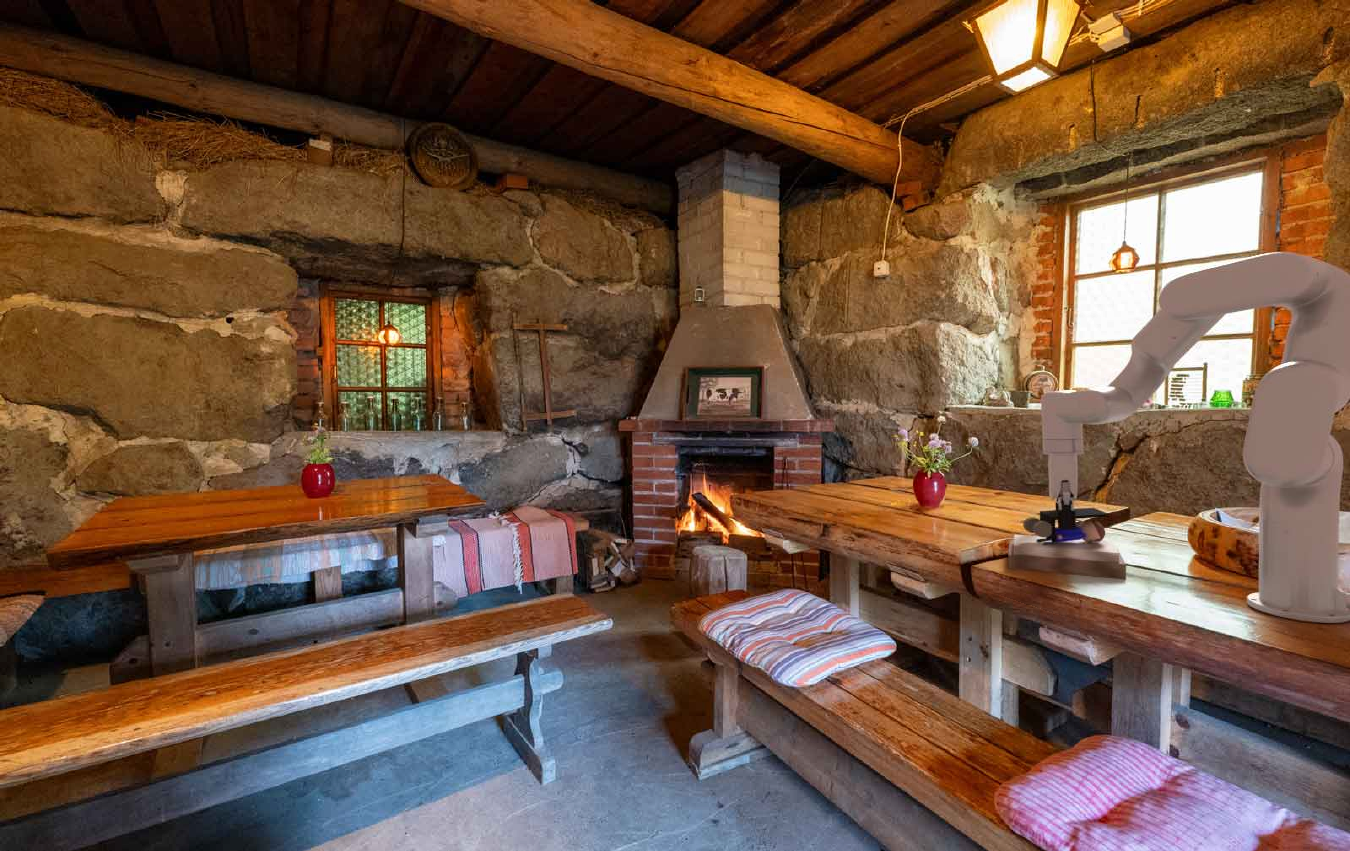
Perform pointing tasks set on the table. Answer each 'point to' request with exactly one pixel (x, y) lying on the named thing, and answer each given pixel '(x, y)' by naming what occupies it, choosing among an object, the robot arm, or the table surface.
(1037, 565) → the plinth
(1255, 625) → the table surface
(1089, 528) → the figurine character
